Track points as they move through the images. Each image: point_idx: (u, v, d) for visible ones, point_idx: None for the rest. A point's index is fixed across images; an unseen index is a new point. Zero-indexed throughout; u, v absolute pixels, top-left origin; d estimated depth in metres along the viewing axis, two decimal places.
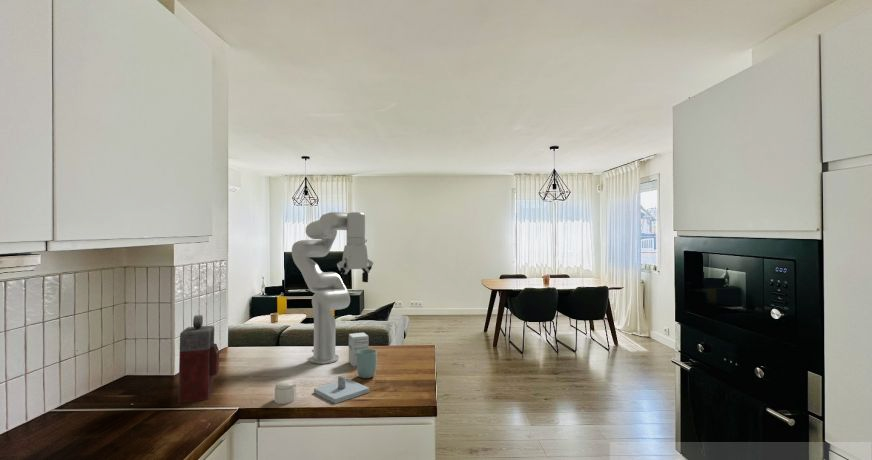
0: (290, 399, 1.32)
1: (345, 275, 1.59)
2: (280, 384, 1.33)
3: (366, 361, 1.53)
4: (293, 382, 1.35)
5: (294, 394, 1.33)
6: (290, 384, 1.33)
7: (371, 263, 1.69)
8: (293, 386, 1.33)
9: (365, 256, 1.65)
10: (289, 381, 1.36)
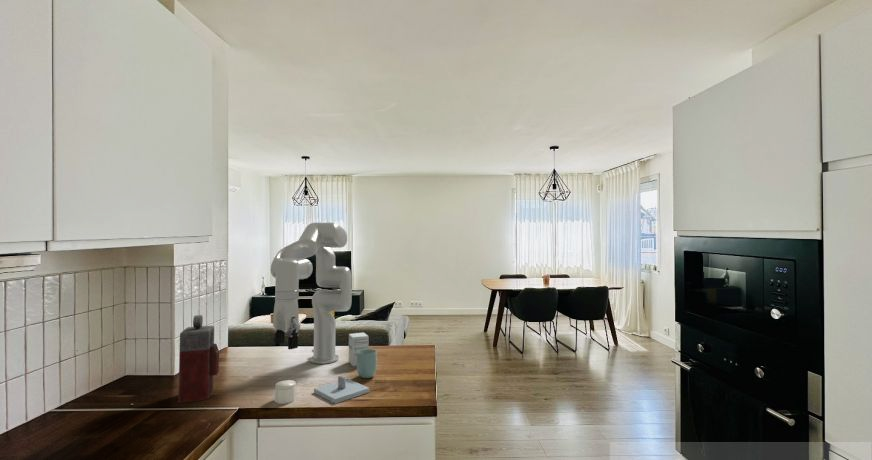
0: (290, 399, 1.32)
1: None
2: (280, 384, 1.33)
3: (366, 361, 1.53)
4: (293, 382, 1.35)
5: (294, 394, 1.33)
6: (290, 384, 1.33)
7: None
8: (293, 386, 1.33)
9: None
10: (289, 381, 1.36)
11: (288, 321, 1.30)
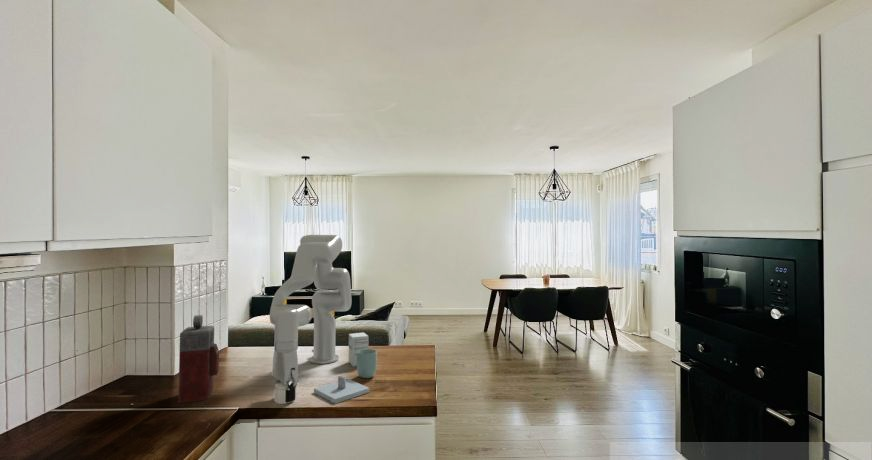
0: None
1: (293, 390, 1.32)
2: (280, 384, 1.33)
3: (366, 361, 1.53)
4: None
5: None
6: None
7: None
8: None
9: None
10: None
11: (287, 373, 1.29)
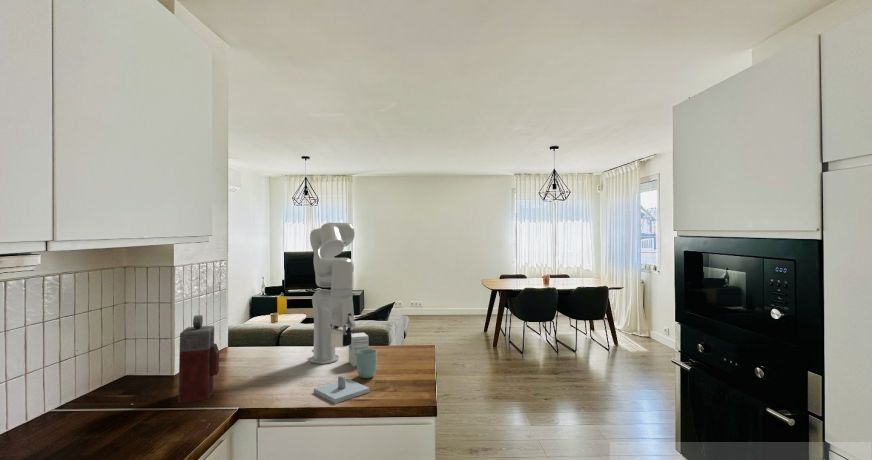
0: None
1: None
2: (336, 330, 1.40)
3: (366, 361, 1.53)
4: None
5: None
6: None
7: None
8: None
9: None
10: None
11: (345, 317, 1.37)
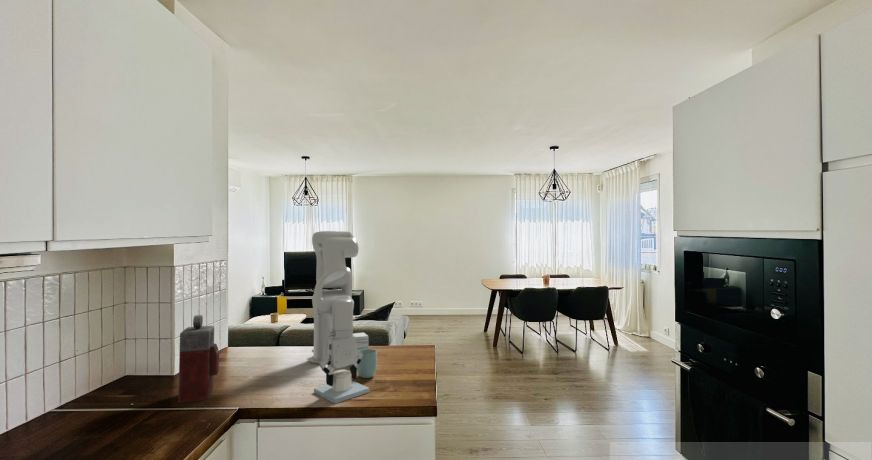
0: None
1: None
2: (344, 373, 1.39)
3: (366, 361, 1.53)
4: (340, 370, 1.43)
5: None
6: (345, 370, 1.43)
7: None
8: None
9: None
10: (336, 372, 1.41)
11: None
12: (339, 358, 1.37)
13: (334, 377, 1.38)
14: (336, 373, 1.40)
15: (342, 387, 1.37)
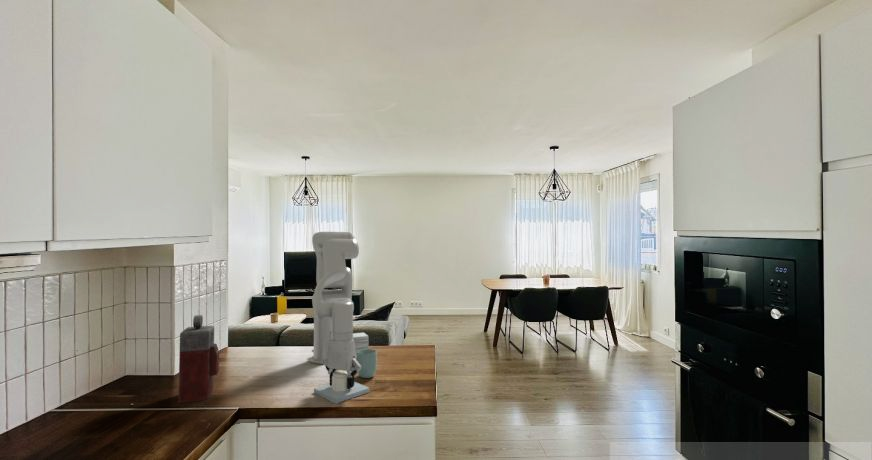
0: None
1: None
2: (344, 373, 1.39)
3: (366, 361, 1.53)
4: (340, 370, 1.43)
5: None
6: None
7: None
8: None
9: None
10: (336, 372, 1.41)
11: (350, 361, 1.37)
12: (330, 359, 1.40)
13: (334, 377, 1.38)
14: (336, 373, 1.40)
15: (342, 387, 1.37)
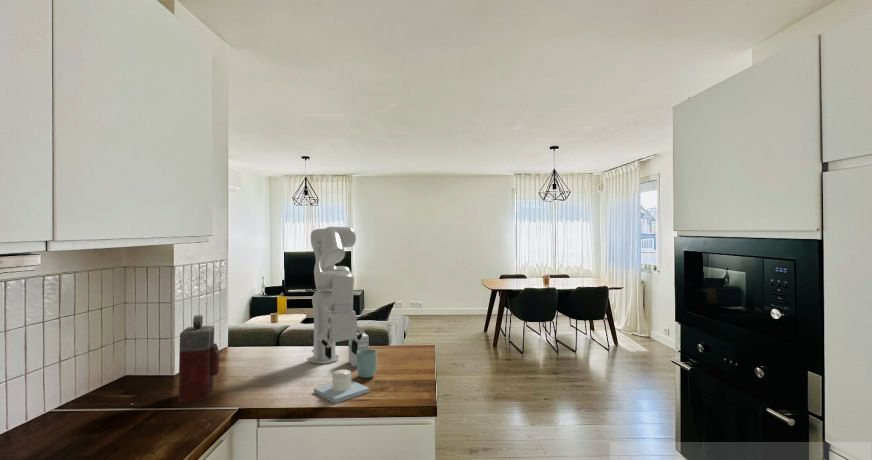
0: None
1: None
2: (346, 372, 1.41)
3: (366, 361, 1.53)
4: (335, 372, 1.41)
5: None
6: (339, 370, 1.43)
7: None
8: None
9: None
10: (336, 374, 1.39)
11: None
12: (337, 332, 1.38)
13: (342, 377, 1.38)
14: (340, 374, 1.39)
15: (350, 384, 1.40)
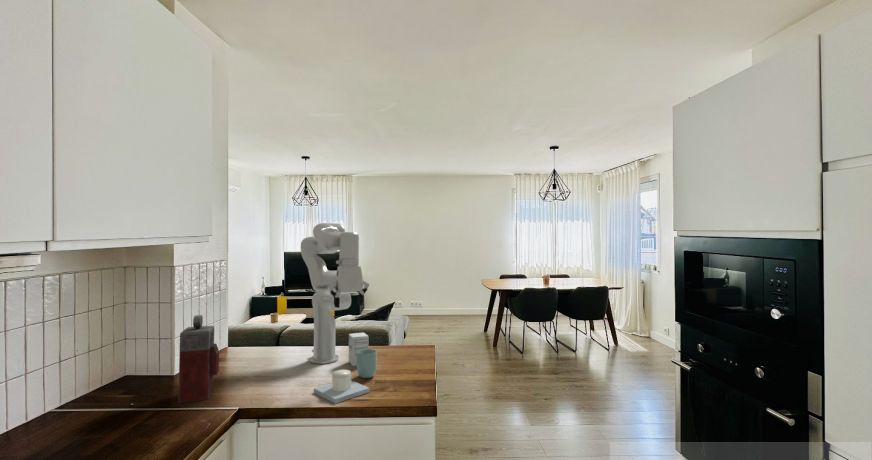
0: None
1: None
2: (346, 372, 1.41)
3: (366, 361, 1.53)
4: (335, 372, 1.41)
5: None
6: (339, 370, 1.43)
7: None
8: None
9: None
10: (336, 374, 1.39)
11: None
12: (345, 283, 1.53)
13: (342, 377, 1.38)
14: (340, 374, 1.39)
15: (350, 384, 1.40)
